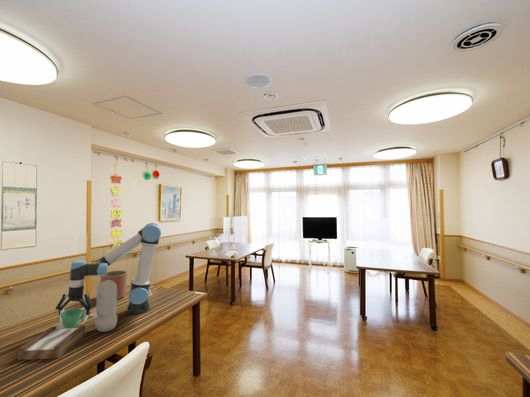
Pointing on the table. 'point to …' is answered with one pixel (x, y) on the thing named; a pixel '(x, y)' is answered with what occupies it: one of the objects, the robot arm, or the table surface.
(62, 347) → the brown rectangular tray
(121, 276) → the planter
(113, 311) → the sculpture
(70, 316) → the mug
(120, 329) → the table surface
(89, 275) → the robot arm
